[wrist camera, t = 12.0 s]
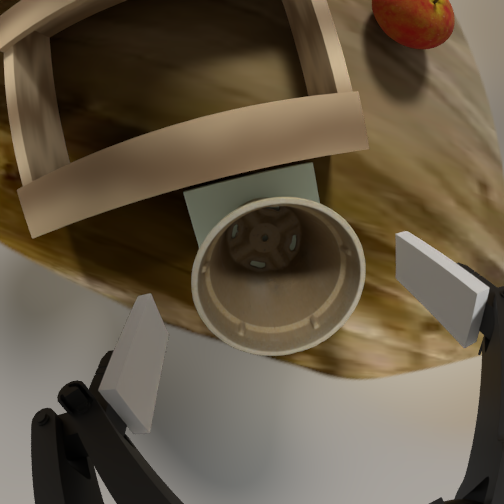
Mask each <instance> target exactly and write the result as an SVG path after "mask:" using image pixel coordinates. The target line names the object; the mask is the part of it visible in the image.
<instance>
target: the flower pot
mask: <svg viewBox="0 0 504 504" xmlns="http://www.w3.org/2000/svg"><path fill="white" fill-rule="evenodd" d="M271 206H272V207H277V206H279V210H275V209H270V208H265V207H271ZM235 225H238V226H237V231H238V232H237V233H236V235H235V237H234V238H232V232H233V228H234V226H235ZM265 235H266V236H267V237H268V239H267V240H266V241H263V239H262V238H263V236H265ZM293 235H296V245H295V248H294V250H290V244H291V243H292V238H293ZM251 261H257V262H262V263H265V267H262V268H259V267H256V266H252V265H251V264H250V263H251ZM365 272H366V270H365V258H364V253H363V250H362V246H361V243H360V241H359V239H358V237H357V235H356V234H355V232H354V230H353V229H352V228H351V226H350V225H349V224H348V223H347V221H346V220H345V219H343V218H342V217H341V216H340V215H339V214H337V213H336V212H334V211H333V210H331V209H330V208H328V207H326V206H324V205H322V204H320V203H317V202H314V201H312V200H308V199H304V198H298V197H273V198H257V199H253V200H250V201H248V202H246V203H244V204H242V205H241V206H239V207H238V208H237V209H236V210H234V211H232V212H231V213H229V214H228V215H227V216H225V217H224V218H223V219H222V220H221V221H220V222H219V223H218V224H217V225H216V226H215V227H214V228H213V229H212V230H211V231H210V232H209V234H208V235H207V236H206V238H205V239H204V241H203V243H202V244H201V246H200V248H199V250H198V252H197V255H196V258H195V261H194V264H193V269H192V277H191V286H192V296H193V301H194V304H195V307H196V310H197V311H198V314H199V316H200V317H201V319H202V321H203V322H204V323H205V324H206V326H207V327H208V329H209V330H210V331H211V332H212V333H213V334H215V336H217V337H218V338H219V339H220V340H222V341H223V342H225V343H226V344H228V345H230V346H231V347H233V348H236V349H238V350H240V351H244V352H247V353H250V354H255V355H262V356H279V355H288V354H293V353H295V352H299V351H303V350H306V349H309V348H312V347H314V346H316V345H318V344H319V343H321V342H323V341H325V340H326V339H328V338H329V337H330V336H332V335H333V334H334V333H335V332H336V331H337V330H338V329H339V328H341V327H342V326H343V325H344V324H345V322H346V321H347V320H348V318H349V317H350V315H351V314H352V313H353V311H354V310H355V307H356V305H357V304H358V301H359V299H360V296H361V293H362V290H363V286H364V282H365Z"/></svg>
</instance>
